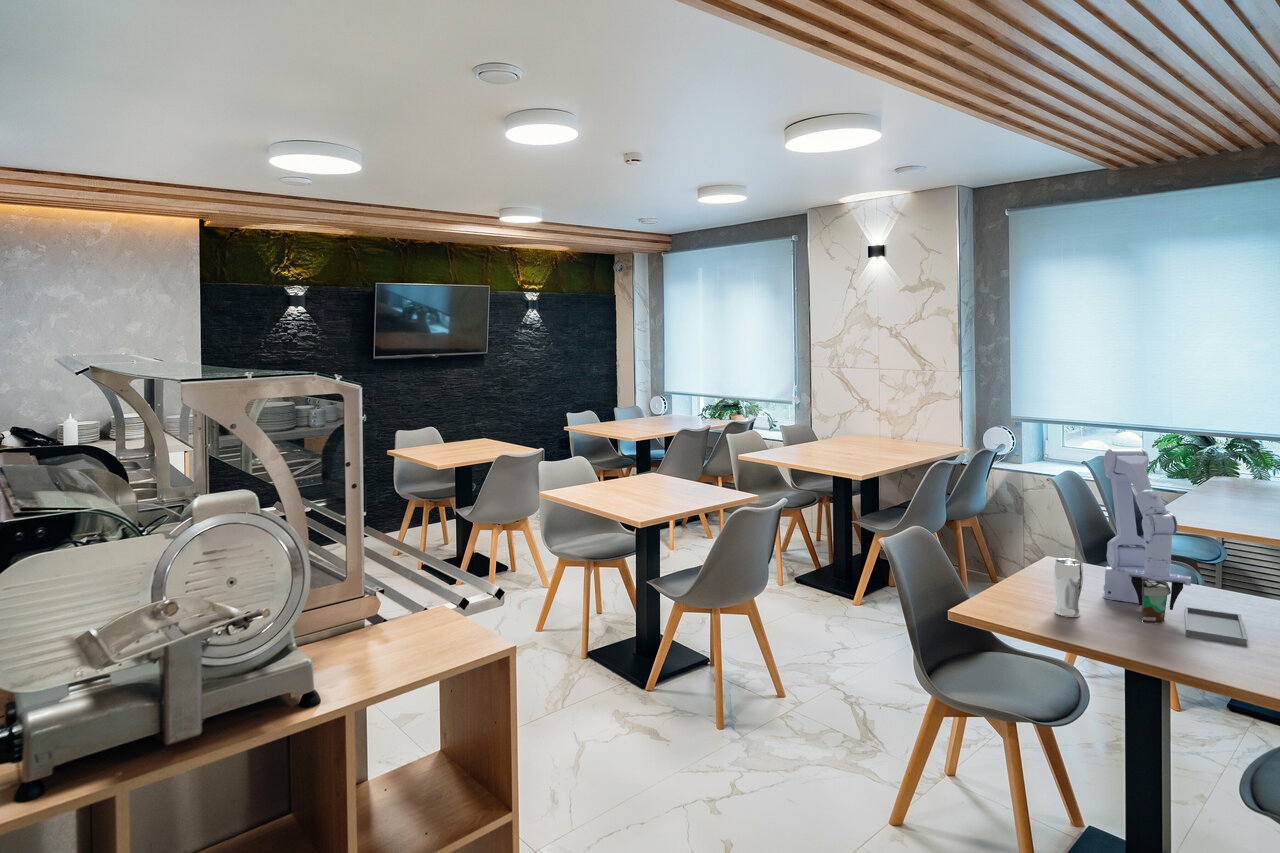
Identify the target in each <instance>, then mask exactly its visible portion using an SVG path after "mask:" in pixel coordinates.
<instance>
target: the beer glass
mask: <svg viewBox="0 0 1280 853" xmlns="http://www.w3.org/2000/svg"><path fill="white" fill-rule="evenodd" d="M1083 568H1084V566H1083V562H1082V561H1080V560H1077V559H1073V558H1057V559H1055V561H1054V572H1053V581H1054V589H1055V594H1056V595H1055V596H1056V604H1055V610H1054V614H1056V615H1057V614H1058V615H1057V616H1059V615H1061V616H1060V617H1062V616H1065V617H1064V618H1067V617H1077V618H1080V616H1081V613H1080V607H1079V606H1080V605H1079V603H1080V602H1079V601H1080V598H1081V593H1082V588H1083V583H1084V569H1083Z"/></svg>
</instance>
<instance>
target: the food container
mask: <svg viewBox="0 0 1280 853" xmlns="http://www.w3.org/2000/svg"><path fill="white" fill-rule="evenodd" d="M1169 595H1171V586H1170V585H1169V582H1163V581H1155V580H1147V579H1143V580H1142V606H1141V605H1140V606H1141V607H1140V613H1141V614H1140V615H1141V619H1142V620H1141V621H1143V622H1144V623H1145V624H1161V623H1164V622H1165V618H1166V617H1165V615H1166V609H1167V601H1168V596H1169ZM1143 622H1142V623H1143Z"/></svg>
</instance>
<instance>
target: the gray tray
mask: <svg viewBox="0 0 1280 853" xmlns="http://www.w3.org/2000/svg"><path fill="white" fill-rule="evenodd" d="M1184 628H1185V630H1184V631H1185V636H1186V637H1193V638H1199V639H1202V640H1203V639H1204V640H1211V641H1218V642H1222V641H1224V642H1223V643H1228V642H1229V644H1234V643H1235V644H1236V645H1241V646H1247V642H1248V641H1247V640H1248V639H1247V635H1246V630H1245V627H1244V623H1243V618H1242V614H1239V613H1233V612H1232V613H1231V612H1225V611H1220V610H1219V611H1218V610H1211V609H1203V608H1197V607H1190V606H1184Z"/></svg>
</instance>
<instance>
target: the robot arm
mask: <svg viewBox="0 0 1280 853" xmlns="http://www.w3.org/2000/svg"><path fill="white" fill-rule="evenodd" d="M1149 458H1150V456H1149V453H1148V452H1147V450H1146V449H1144V448H1137V449H1136V448H1132V449H1131V448H1130V449H1129V448H1127V449H1126V448H1122V449H1120V448H1119V449H1117V448H1116V449H1113V448H1108V449H1107V450H1105V453H1104V455H1103V468H1104V474H1105V477H1106V478H1107V479H1109V480H1110V484H1111V490H1112V499H1113V508H1114V509H1113V511H1114V517H1115V518H1114V519H1115V526H1116V535H1115V536H1114V537H1113V538H1111V539H1110V540H1109V541H1108V542H1107V543H1106V544H1107V546H1106V547H1107V549H1106V560H1107V563H1108V565H1109V566H1105V573H1104V584H1103V591H1104V594H1103V595H1104V597H1103V598H1104V599H1106V600H1112V601H1118V602H1119V601H1120V602H1126V603H1134V604H1138V606H1142V580H1143V579H1147V580H1155V581H1163V582H1167V583H1171V585H1170V591H1171V593H1170V601H1169V611H1173V609H1174V605H1175V603H1176V600H1177V598H1178V597H1179V595H1180V593H1181V592H1182V591H1183V589H1184V585H1185V586H1191V584H1192V583H1191V582H1192V579H1191V578H1192V577H1191V576H1188V575H1187V576H1186V575H1181V574H1177V573H1176V574H1175V573H1171V568H1172V567H1171V566H1172V546H1173V545H1172V544H1173V543H1172V542H1173V536H1175V535H1176V534H1177V532H1178V521H1177V518H1176V515H1175V514H1173V513H1171V511H1170V510H1167V508H1166V506H1165V504H1164V502H1163V499H1162V497H1161V495H1160V493H1159V492H1157V491H1155V490H1153V488H1152V485H1151V481H1150V477H1149V476H1148V472H1147V470H1148V467H1149V464H1150V463H1149V461H1150V459H1149ZM1132 486H1133V487H1132ZM1133 488H1134V491H1135V492H1136V493H1137V495H1136V496H1135V502H1136V504H1137V507H1138V509H1139V511H1140V513H1141V517H1142V521H1141V528H1142V531H1143V538H1142V537H1140V536H1139V535H1138V530H1137V522H1136V513H1135V504H1134V496H1133Z"/></svg>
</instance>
